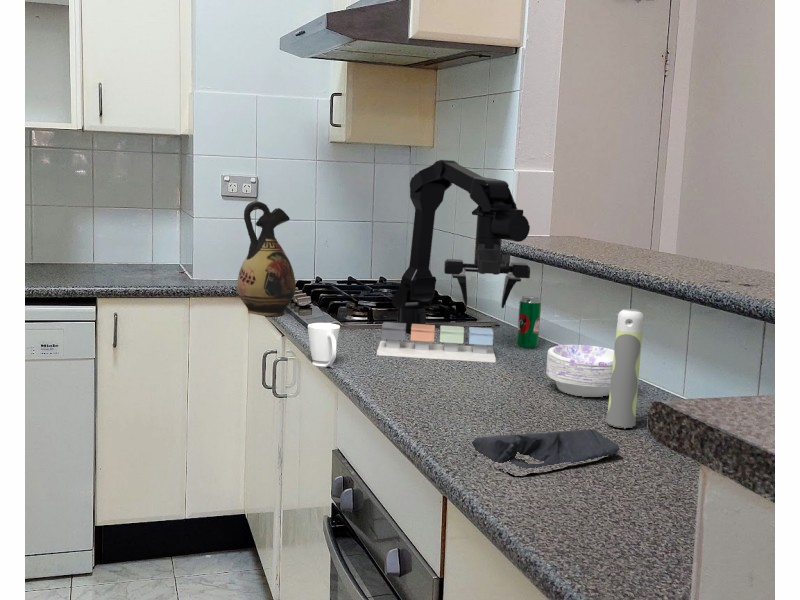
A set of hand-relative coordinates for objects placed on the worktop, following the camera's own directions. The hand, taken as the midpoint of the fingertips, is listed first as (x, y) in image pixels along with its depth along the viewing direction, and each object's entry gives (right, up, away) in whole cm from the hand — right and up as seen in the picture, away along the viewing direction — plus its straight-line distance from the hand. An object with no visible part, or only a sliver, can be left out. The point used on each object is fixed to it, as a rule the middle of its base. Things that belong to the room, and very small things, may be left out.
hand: (484, 306), depth 196 cm
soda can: (+12, -10, +14) cm, 21 cm away
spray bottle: (+18, -20, -48) cm, 55 cm away
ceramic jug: (-56, -2, +39) cm, 68 cm away
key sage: (-7, -8, +1) cm, 11 cm away
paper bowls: (+17, -17, -26) cm, 35 cm away
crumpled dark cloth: (+3, -22, -64) cm, 68 cm away
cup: (-34, -12, -16) cm, 40 cm away
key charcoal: (-20, -7, +2) cm, 21 cm away
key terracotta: (-14, -7, +1) cm, 16 cm away
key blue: (-1, -8, +1) cm, 8 cm away
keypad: (-11, -10, +2) cm, 15 cm away
